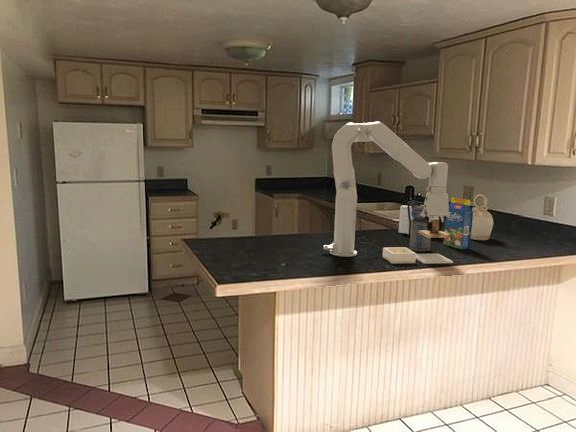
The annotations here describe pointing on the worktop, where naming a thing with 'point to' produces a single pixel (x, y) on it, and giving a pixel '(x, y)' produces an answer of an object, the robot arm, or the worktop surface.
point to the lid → (434, 231)
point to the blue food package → (459, 224)
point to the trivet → (432, 258)
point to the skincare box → (406, 219)
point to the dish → (399, 255)
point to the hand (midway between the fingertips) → (434, 229)
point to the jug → (481, 220)
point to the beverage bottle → (417, 228)
